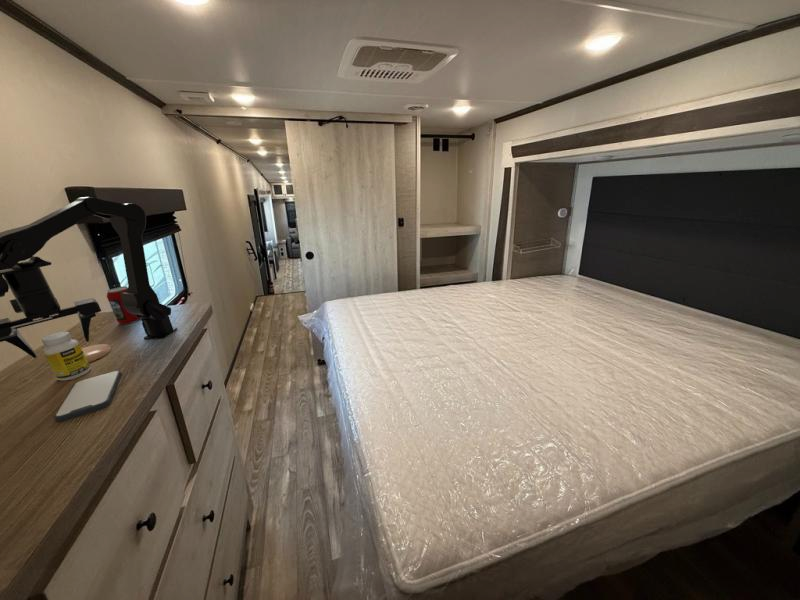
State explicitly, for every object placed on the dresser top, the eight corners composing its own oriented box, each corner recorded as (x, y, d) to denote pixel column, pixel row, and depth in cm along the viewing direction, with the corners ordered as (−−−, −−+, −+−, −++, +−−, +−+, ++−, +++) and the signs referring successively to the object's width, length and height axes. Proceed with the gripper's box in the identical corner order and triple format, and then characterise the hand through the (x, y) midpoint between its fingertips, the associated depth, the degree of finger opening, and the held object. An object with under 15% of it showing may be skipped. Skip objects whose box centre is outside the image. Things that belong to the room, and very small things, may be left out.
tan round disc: (121, 345, 94) (120, 343, 93) (86, 366, 83) (85, 363, 83) (85, 347, 94) (84, 345, 94) (46, 368, 84) (45, 365, 83)
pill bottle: (75, 381, 77) (54, 341, 73) (51, 382, 77) (28, 342, 73) (98, 366, 83) (79, 329, 79) (75, 367, 83) (56, 330, 79)
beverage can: (117, 321, 111) (103, 290, 107) (140, 315, 116) (128, 284, 111) (120, 327, 107) (105, 293, 102) (144, 320, 111) (131, 288, 107)
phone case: (77, 387, 76) (54, 426, 63) (74, 381, 75) (50, 419, 62) (123, 374, 80) (110, 407, 67) (121, 368, 80) (107, 401, 67)
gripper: (82, 273, 83) (106, 326, 89) (-31, 295, 70) (6, 355, 76) (87, 280, 76) (113, 337, 82) (-36, 305, 63) (4, 371, 69)
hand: (62, 348), depth 77 cm, fingers open, 9 cm apart
